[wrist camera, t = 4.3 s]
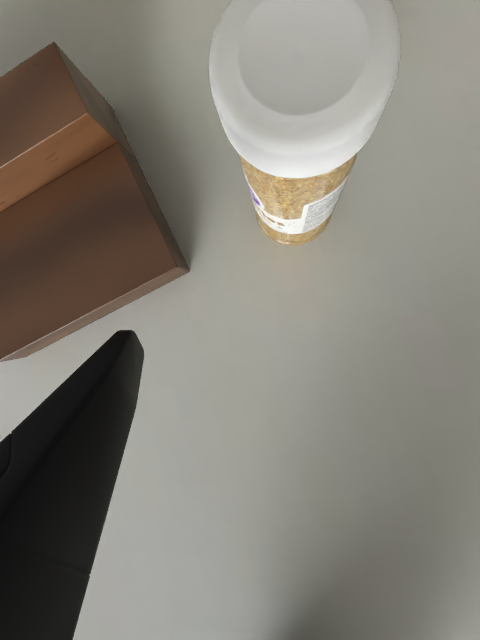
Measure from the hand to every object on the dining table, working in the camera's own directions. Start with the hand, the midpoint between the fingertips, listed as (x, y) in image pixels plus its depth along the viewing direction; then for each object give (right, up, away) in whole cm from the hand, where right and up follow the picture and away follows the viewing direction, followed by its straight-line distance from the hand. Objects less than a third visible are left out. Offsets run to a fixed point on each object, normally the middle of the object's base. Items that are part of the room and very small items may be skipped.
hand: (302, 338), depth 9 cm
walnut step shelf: (-13, +6, +14) cm, 20 cm away
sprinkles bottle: (+2, +7, +12) cm, 14 cm away
